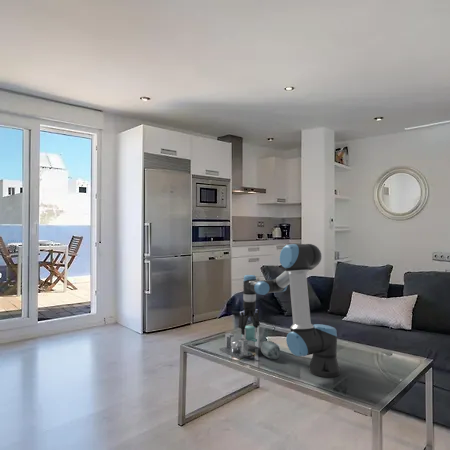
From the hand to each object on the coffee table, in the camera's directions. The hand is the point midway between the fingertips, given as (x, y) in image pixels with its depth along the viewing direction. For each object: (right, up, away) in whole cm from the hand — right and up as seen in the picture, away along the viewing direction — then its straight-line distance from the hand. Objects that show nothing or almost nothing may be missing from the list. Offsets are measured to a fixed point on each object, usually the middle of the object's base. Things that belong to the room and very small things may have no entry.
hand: (248, 338), depth 228 cm
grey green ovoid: (+11, -6, -16) cm, 20 cm away
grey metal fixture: (-8, -5, -9) cm, 13 cm away
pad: (0, -5, 0) cm, 5 cm away
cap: (0, 0, 0) cm, 0 cm away
